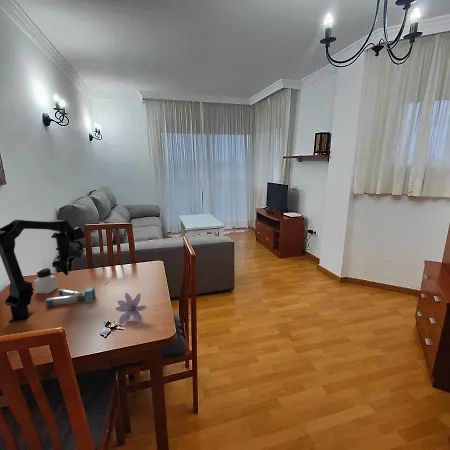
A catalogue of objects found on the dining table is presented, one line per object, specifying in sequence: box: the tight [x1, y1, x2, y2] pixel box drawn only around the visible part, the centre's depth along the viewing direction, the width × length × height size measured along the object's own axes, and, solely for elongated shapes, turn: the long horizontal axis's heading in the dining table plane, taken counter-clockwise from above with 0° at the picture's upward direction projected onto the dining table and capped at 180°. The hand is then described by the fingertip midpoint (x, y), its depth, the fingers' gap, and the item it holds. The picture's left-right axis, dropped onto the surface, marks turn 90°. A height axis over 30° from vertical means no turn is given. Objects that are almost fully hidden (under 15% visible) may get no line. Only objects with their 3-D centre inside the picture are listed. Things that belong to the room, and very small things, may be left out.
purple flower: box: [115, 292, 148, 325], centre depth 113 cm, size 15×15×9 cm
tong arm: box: [58, 288, 80, 297], centre depth 131 cm, size 12×2×3 cm, turn 73°
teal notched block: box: [83, 286, 96, 303], centre depth 128 cm, size 3×6×5 cm, turn 12°
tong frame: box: [45, 292, 86, 308], centre depth 126 cm, size 16×4×4 cm, turn 103°
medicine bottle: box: [33, 267, 59, 295], centre depth 138 cm, size 7×7×12 cm
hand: (68, 273), depth 134 cm, fingers open, 4 cm apart
